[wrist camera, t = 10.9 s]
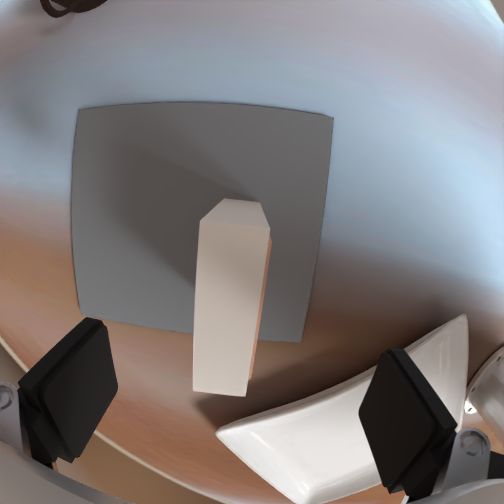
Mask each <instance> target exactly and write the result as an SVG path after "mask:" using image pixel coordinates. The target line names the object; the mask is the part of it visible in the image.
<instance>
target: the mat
mask: <svg viewBox="0 0 504 504" xmlns="http://www.w3.org/2000/svg"><path fill="white" fill-rule="evenodd" d="M333 120H334V117H329V116H324V115H318V114H313V113H307V112H300V111H294V110H287V109H279V108H271V107H262V106H252V105H240V104H225V103H200V102H166V103H141V104H126V105H115V106H105V107H97V108H89V109H82V110H79V112H78V119H77V126H76V134H75V144H74V155H73V169H72V197H71V214H72V242H73V257H74V268H75V277H76V286H77V293H78V300H79V307H80V313H81V315H85V316H90V317H95V318H99V319H104V320H109V321H114V322H120V323H125V324H131V325H136V326H142V327H148V328H154V329H161V330H168V331H175V332H182V333H190V334H194V308H195V287H196V269H197V253H198V240H199V227H200V220H201V219H202V218H204V217H205V216H206V215H207V214H208V213H209V212H210V211H211V210H212V209H213V208H214V207H215V206H216V205H217V204H219V203H220V202H221V201H222V200H223V199H224V198H226V199H235V200H244V201H253V202H260V204H261V207H262V209H263V212H264V214H265V217H266V219H267V222H268V224H269V227H270V237H271V240H272V245H271V252H270V259H269V266H268V273H267V279H266V286H265V293H264V300H263V306H262V313H261V319H260V326H259V332H258V339H257V340H262V341H279V342H301V339H302V334H303V329H304V325H305V320H306V315H307V310H308V305H309V300H310V294H311V289H312V283H313V278H314V272H315V266H316V260H317V254H318V248H319V241H320V235H321V228H322V221H323V214H324V206H325V199H326V191H327V182H328V174H329V164H330V155H331V144H332V133H333Z"/></svg>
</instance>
